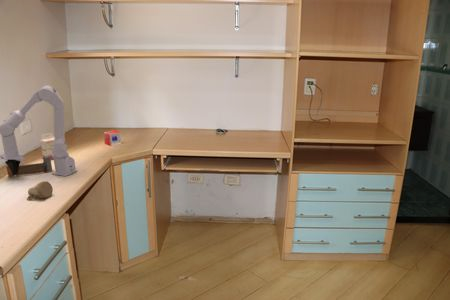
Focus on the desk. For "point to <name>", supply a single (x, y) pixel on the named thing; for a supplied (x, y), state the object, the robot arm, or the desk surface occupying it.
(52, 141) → the ink cartridge box
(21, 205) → the desk surface
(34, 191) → the grey rounded lump
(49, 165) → the gate post
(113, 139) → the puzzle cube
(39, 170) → the brown flat bar
